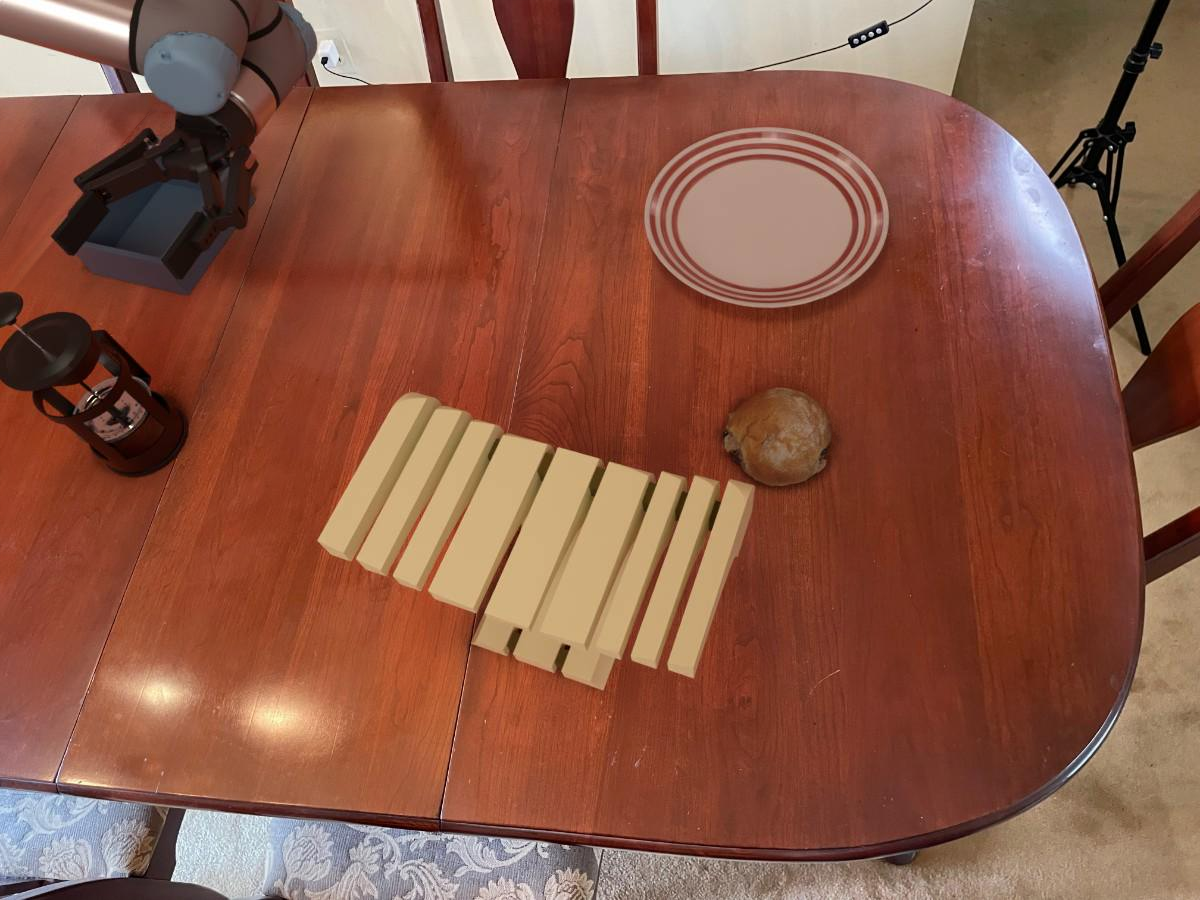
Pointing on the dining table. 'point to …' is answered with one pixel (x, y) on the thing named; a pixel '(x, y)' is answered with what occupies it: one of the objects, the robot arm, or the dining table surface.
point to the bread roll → (779, 436)
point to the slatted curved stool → (541, 539)
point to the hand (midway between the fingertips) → (115, 258)
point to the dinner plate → (766, 217)
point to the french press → (109, 409)
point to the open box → (151, 235)
